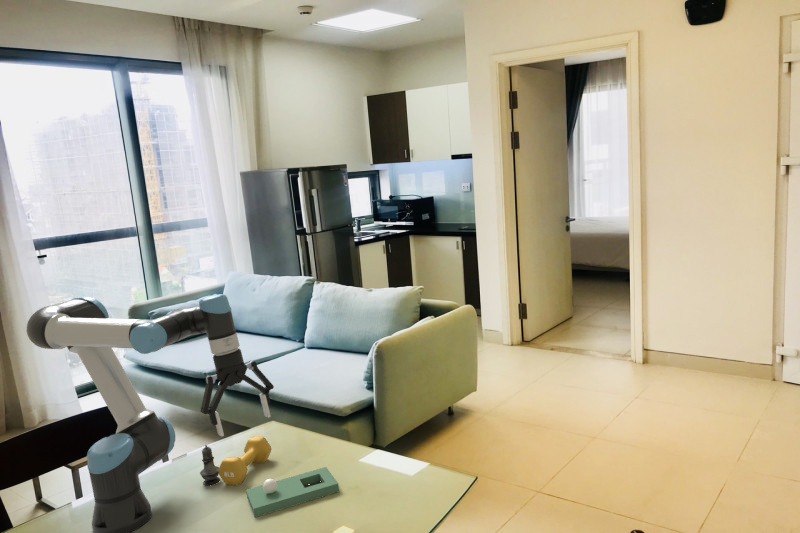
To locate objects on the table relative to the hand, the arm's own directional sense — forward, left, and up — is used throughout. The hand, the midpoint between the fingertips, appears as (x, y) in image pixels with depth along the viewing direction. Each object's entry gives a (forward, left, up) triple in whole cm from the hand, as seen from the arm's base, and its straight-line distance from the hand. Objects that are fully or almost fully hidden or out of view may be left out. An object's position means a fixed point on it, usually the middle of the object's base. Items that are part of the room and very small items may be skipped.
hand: (245, 425), depth 169 cm
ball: (+4, 0, -19) cm, 20 cm away
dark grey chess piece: (-10, +23, -24) cm, 34 cm away
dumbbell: (+1, +23, -24) cm, 33 cm away
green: (+10, 0, -24) cm, 26 cm away
